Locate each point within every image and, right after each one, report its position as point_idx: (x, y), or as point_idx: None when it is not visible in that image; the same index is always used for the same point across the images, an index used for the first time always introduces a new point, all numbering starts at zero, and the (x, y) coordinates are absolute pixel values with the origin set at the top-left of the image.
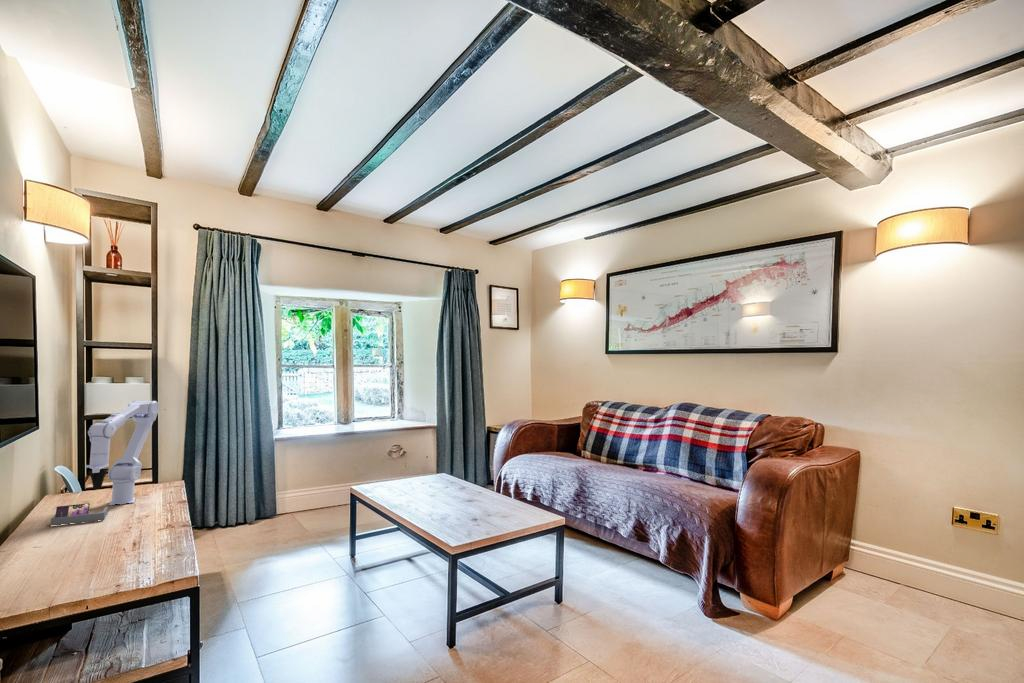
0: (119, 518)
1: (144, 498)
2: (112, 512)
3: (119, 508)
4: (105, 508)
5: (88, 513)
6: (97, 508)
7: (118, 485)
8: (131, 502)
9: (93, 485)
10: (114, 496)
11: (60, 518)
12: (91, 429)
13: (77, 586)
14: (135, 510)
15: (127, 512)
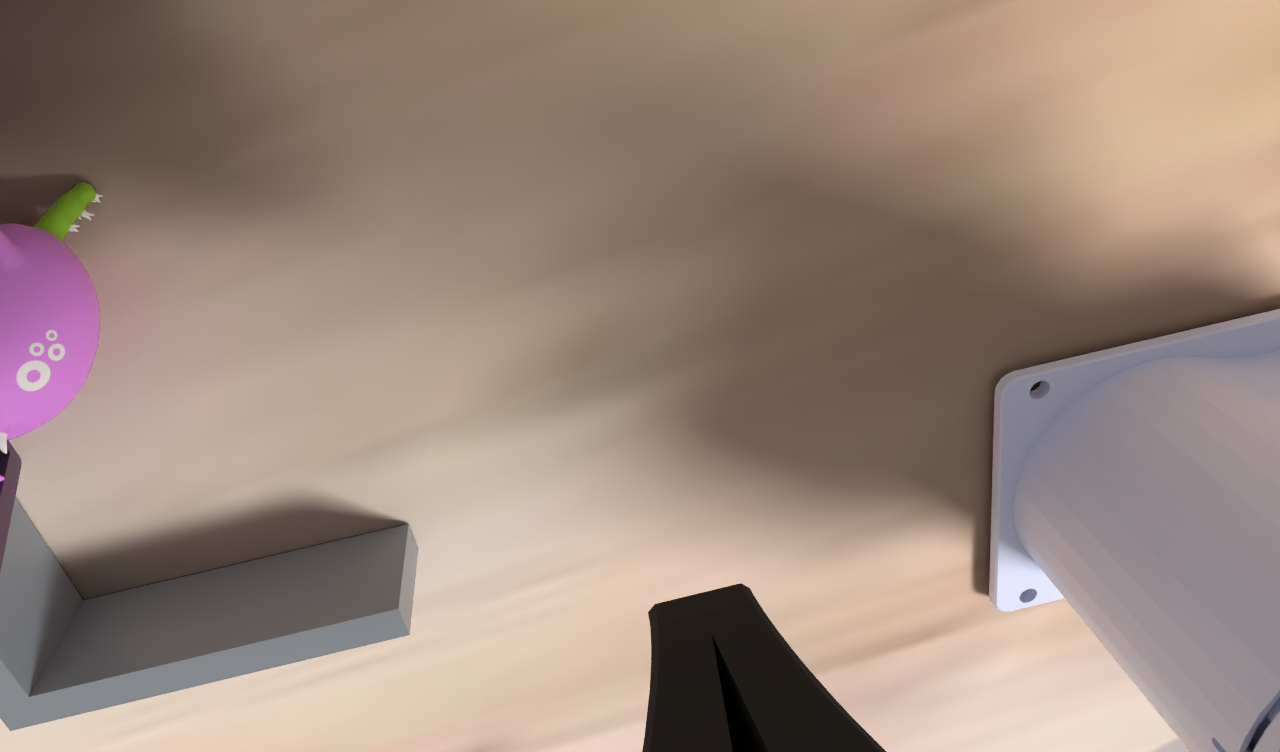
0: (171, 740)
1: None
2: (549, 553)
3: (765, 549)
4: (299, 643)
5: (7, 529)
6: (918, 265)
7: (1227, 676)
8: (992, 597)
9: (654, 680)
10: (1124, 481)
11: None
12: None
13: None
14: (565, 745)
15: (484, 707)
